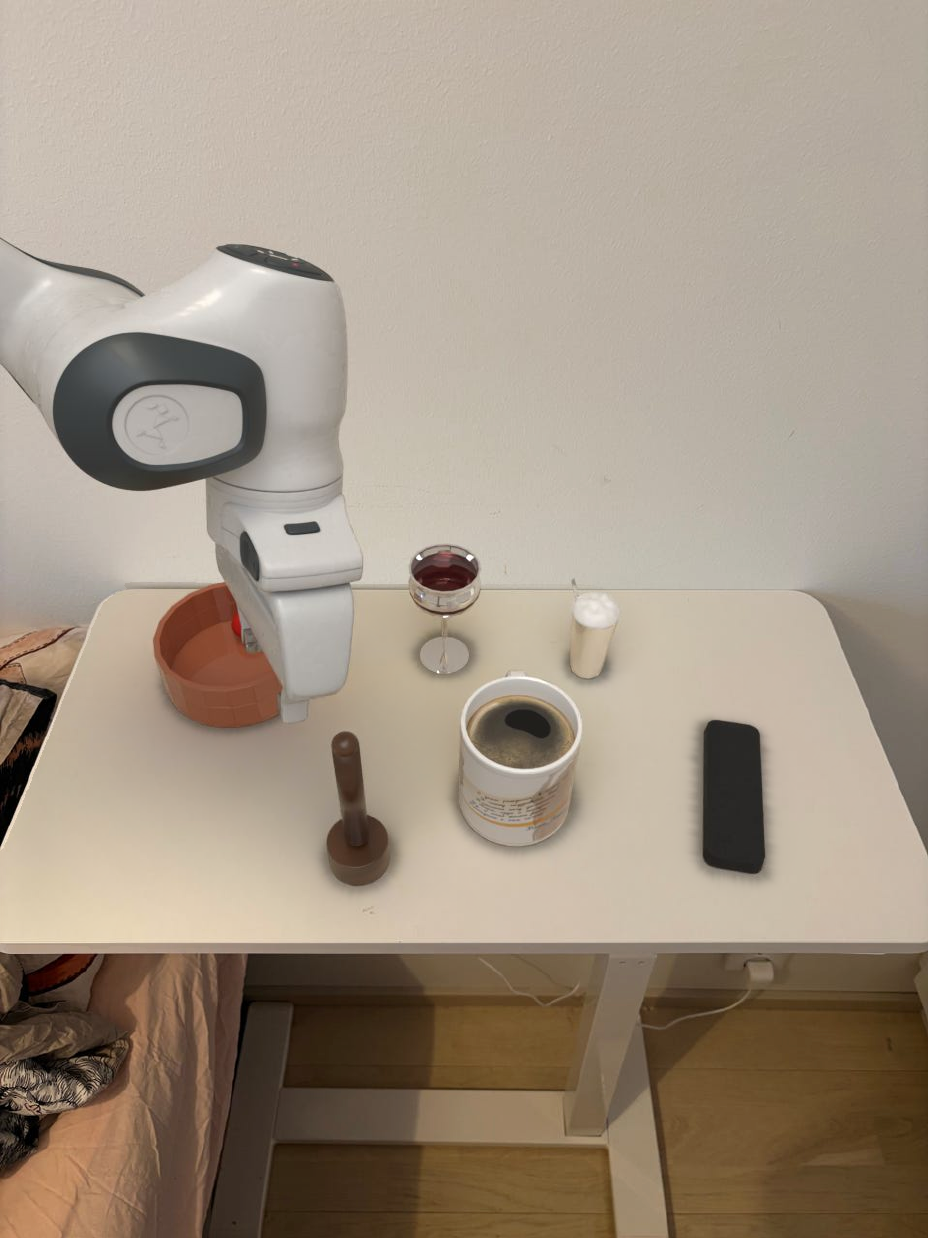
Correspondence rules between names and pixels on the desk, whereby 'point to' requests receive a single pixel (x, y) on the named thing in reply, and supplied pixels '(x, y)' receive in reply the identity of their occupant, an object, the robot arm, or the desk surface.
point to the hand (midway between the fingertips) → (272, 681)
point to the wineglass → (444, 598)
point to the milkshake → (591, 631)
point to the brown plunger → (354, 821)
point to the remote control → (733, 797)
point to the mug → (518, 759)
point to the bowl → (213, 663)
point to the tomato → (236, 625)
